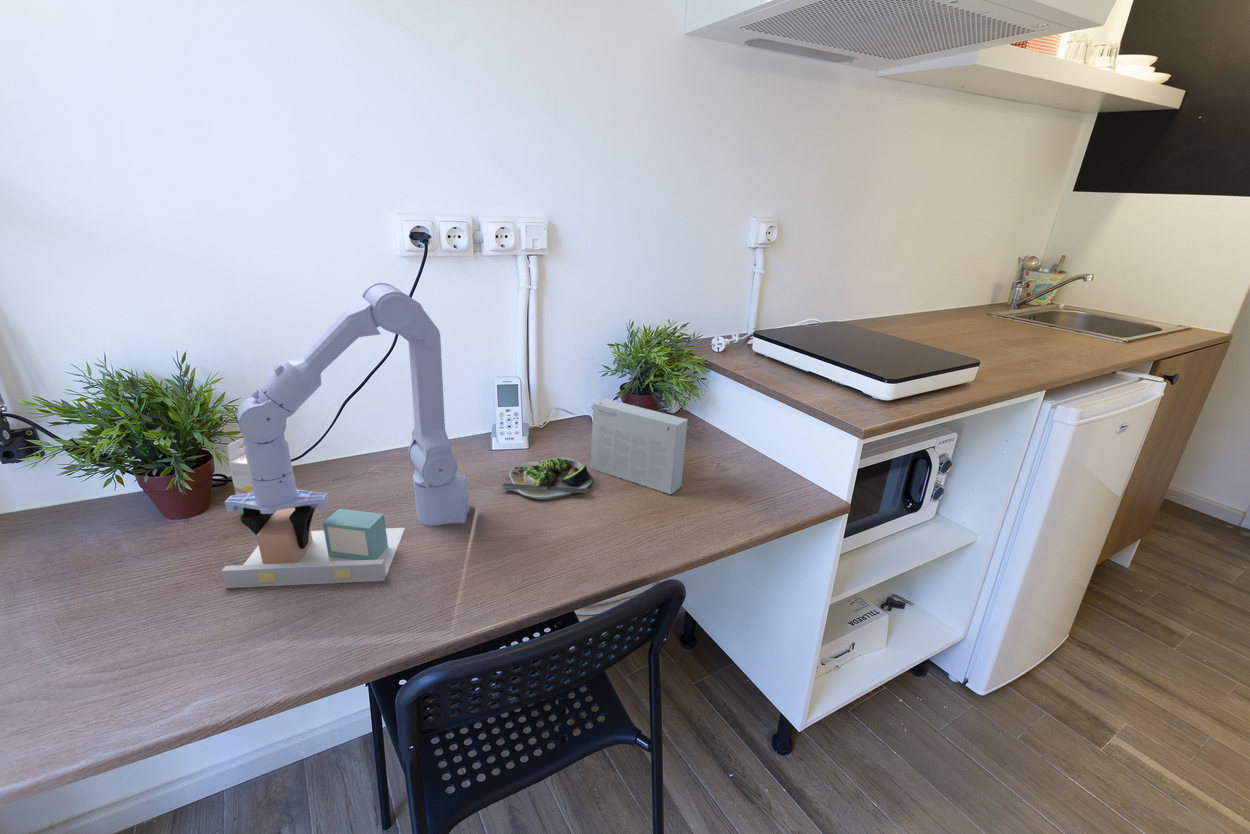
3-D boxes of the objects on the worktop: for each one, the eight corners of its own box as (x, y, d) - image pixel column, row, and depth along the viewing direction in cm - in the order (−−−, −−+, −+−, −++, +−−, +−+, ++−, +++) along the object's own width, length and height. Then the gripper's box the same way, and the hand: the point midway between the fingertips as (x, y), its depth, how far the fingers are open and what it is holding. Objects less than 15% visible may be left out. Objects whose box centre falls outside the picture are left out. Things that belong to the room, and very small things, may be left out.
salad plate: (510, 513, 114) (509, 492, 112) (491, 473, 129) (490, 454, 127) (602, 497, 121) (603, 477, 119) (574, 461, 136) (575, 443, 134)
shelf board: (405, 532, 105) (403, 513, 104) (384, 585, 92) (382, 564, 90) (269, 537, 102) (265, 517, 101) (226, 593, 88) (220, 571, 87)
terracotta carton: (312, 540, 100) (306, 507, 98) (294, 568, 93) (287, 534, 91) (283, 541, 100) (276, 508, 97) (263, 570, 92) (255, 535, 90)
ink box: (263, 522, 107) (247, 449, 101) (240, 518, 107) (222, 446, 102) (297, 499, 115) (283, 430, 109) (275, 496, 115) (260, 427, 110)
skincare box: (683, 486, 126) (689, 418, 120) (671, 496, 122) (677, 426, 116) (603, 460, 136) (604, 396, 130) (589, 468, 132) (590, 403, 126)
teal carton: (344, 541, 100) (339, 508, 98) (388, 546, 100) (383, 513, 97) (328, 557, 96) (322, 523, 94) (373, 562, 95) (368, 529, 93)
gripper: (207, 486, 86) (227, 562, 91) (312, 483, 88) (325, 558, 93) (231, 464, 92) (248, 537, 98) (327, 462, 94) (339, 533, 100)
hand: (287, 546), depth 96 cm, fingers closed on terracotta carton, 5 cm apart
